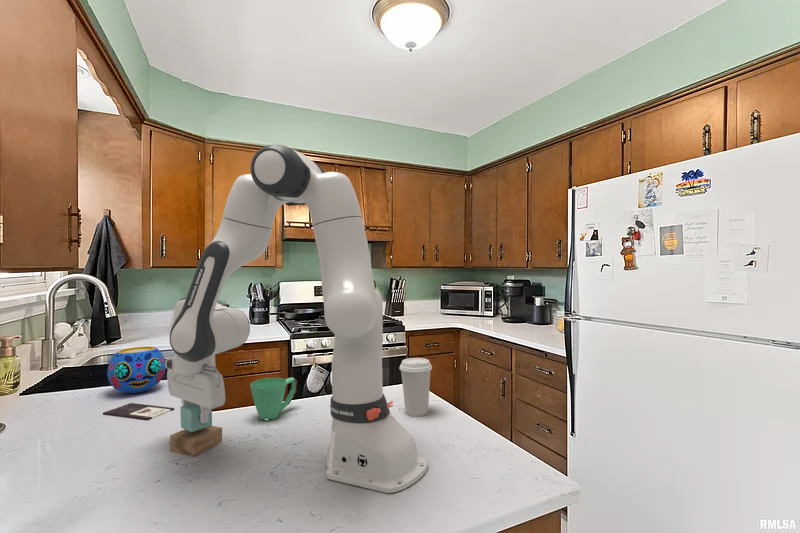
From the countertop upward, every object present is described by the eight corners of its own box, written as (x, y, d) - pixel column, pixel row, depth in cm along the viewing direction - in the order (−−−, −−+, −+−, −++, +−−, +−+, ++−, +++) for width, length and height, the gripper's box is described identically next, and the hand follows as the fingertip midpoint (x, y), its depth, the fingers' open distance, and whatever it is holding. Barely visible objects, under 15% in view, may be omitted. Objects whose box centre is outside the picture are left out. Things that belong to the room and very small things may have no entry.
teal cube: (212, 424, 98) (211, 404, 98) (191, 432, 94) (191, 410, 94) (201, 420, 101) (200, 400, 101) (180, 427, 97) (180, 406, 97)
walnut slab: (222, 443, 99) (222, 427, 99) (194, 458, 92) (193, 440, 92) (199, 438, 103) (199, 423, 103) (170, 452, 95) (170, 435, 95)
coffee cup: (396, 417, 113) (395, 364, 113) (404, 405, 122) (403, 356, 122) (430, 419, 111) (429, 365, 111) (435, 407, 120) (434, 357, 120)
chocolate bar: (131, 402, 129) (174, 408, 124) (131, 405, 129) (174, 411, 124) (102, 412, 121) (147, 418, 115) (102, 415, 121) (147, 422, 115)
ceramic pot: (108, 403, 131) (106, 357, 131) (107, 390, 146) (106, 348, 146) (169, 392, 142) (168, 349, 142) (163, 381, 156) (162, 342, 156)
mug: (265, 426, 109) (264, 389, 109) (244, 419, 115) (243, 384, 115) (307, 410, 121) (306, 376, 121) (286, 404, 126) (285, 372, 126)
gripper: (231, 364, 94) (233, 424, 94) (187, 355, 106) (188, 407, 106) (205, 371, 89) (207, 433, 89) (161, 360, 101) (163, 415, 101)
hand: (196, 419), depth 97 cm, fingers closed on teal cube, 5 cm apart
